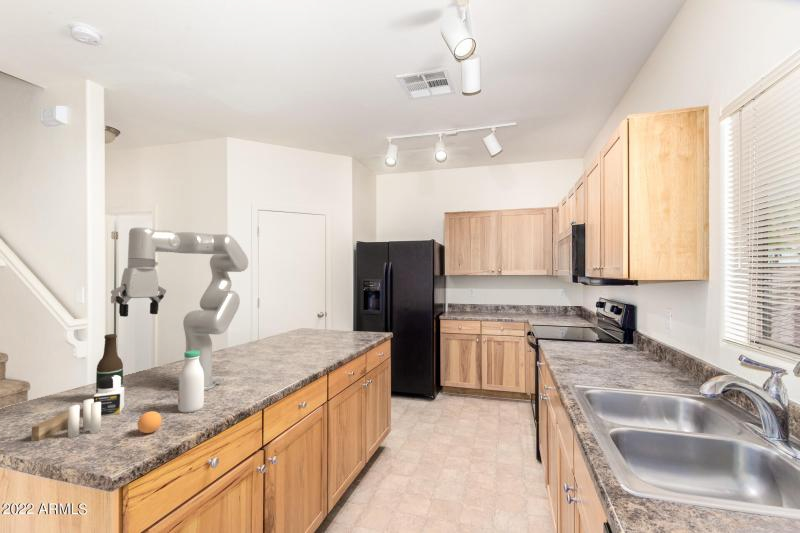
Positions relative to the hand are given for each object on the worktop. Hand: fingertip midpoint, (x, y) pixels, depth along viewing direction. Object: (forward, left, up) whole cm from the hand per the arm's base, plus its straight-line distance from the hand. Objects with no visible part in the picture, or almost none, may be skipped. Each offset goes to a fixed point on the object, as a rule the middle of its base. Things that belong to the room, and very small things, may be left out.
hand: (139, 315), depth 124 cm
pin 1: (+14, +11, -33) cm, 38 cm away
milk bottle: (-16, +4, -33) cm, 37 cm away
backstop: (+20, +5, -33) cm, 39 cm away
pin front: (+9, +11, -33) cm, 36 cm away
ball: (-5, +19, -30) cm, 36 cm away
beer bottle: (+10, -21, -33) cm, 41 cm away
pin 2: (+12, +7, -33) cm, 36 cm away
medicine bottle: (+8, -6, -33) cm, 35 cm away
